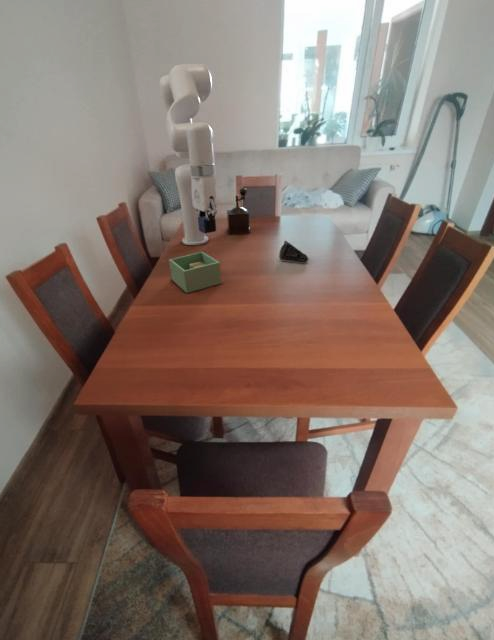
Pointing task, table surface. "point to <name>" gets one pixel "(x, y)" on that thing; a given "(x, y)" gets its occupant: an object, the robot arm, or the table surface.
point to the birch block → (196, 265)
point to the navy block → (203, 224)
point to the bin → (195, 272)
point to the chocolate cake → (292, 254)
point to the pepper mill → (238, 217)
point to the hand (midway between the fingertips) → (207, 229)
